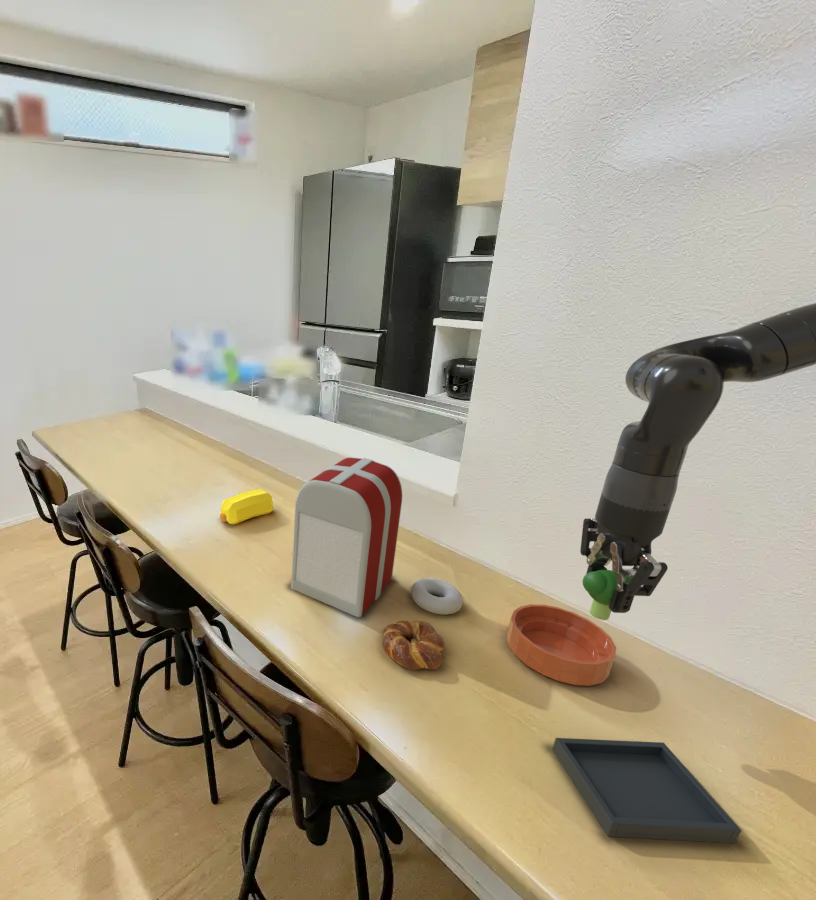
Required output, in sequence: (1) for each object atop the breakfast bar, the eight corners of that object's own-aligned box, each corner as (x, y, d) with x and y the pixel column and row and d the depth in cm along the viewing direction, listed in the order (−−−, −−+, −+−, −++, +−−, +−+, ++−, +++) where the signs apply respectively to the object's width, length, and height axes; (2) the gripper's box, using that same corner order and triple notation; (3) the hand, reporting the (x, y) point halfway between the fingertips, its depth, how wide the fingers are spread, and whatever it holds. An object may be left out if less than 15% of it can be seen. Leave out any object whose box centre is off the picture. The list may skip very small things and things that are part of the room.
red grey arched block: (393, 578, 110) (408, 466, 101) (360, 618, 97) (374, 494, 88) (326, 553, 120) (334, 449, 111) (288, 587, 107) (294, 473, 98)
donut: (406, 585, 108) (412, 614, 98) (408, 572, 107) (414, 599, 97) (456, 592, 105) (466, 621, 96) (458, 578, 104) (469, 606, 95)
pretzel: (396, 619, 97) (398, 604, 96) (454, 645, 90) (457, 629, 89) (369, 653, 89) (371, 636, 87) (431, 684, 82) (434, 667, 80)
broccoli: (611, 605, 77) (624, 563, 75) (634, 627, 73) (649, 584, 70) (565, 603, 78) (577, 562, 75) (586, 625, 73) (599, 582, 70)
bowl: (572, 627, 95) (579, 605, 93) (630, 690, 80) (639, 665, 79) (491, 624, 95) (496, 603, 94) (534, 686, 81) (540, 662, 80)
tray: (658, 754, 70) (663, 742, 69) (735, 843, 59) (741, 830, 58) (551, 749, 71) (555, 737, 70) (607, 836, 60) (612, 823, 59)
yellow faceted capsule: (280, 512, 140) (263, 502, 147) (281, 491, 138) (264, 482, 144) (228, 530, 131) (212, 518, 137) (228, 507, 129) (212, 497, 135)
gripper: (709, 522, 61) (668, 632, 67) (627, 477, 75) (599, 572, 81) (645, 520, 62) (610, 630, 68) (576, 476, 75) (551, 571, 81)
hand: (604, 598), depth 74 cm, fingers closed on broccoli, 5 cm apart
